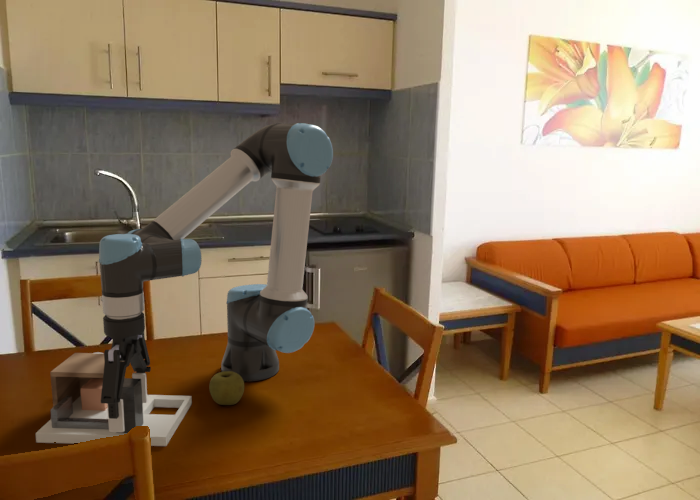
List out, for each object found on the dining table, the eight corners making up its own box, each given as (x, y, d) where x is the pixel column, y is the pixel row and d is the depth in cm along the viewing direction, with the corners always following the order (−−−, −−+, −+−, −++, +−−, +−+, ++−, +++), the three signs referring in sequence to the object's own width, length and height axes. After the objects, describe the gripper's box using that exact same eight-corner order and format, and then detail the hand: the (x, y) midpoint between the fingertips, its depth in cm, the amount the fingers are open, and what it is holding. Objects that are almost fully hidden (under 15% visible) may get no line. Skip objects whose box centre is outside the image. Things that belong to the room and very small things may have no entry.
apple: (214, 395, 134) (214, 367, 132) (247, 396, 133) (247, 368, 132) (205, 410, 126) (204, 380, 125) (240, 411, 126) (240, 382, 125)
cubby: (125, 395, 128) (123, 354, 126) (105, 417, 118) (103, 373, 116) (78, 393, 128) (75, 352, 126) (54, 416, 118) (50, 371, 116)
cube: (114, 399, 125) (113, 379, 125) (105, 410, 121) (103, 389, 120) (92, 399, 125) (91, 378, 125) (82, 409, 121) (80, 388, 120)
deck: (191, 404, 129) (191, 396, 128) (166, 446, 111) (165, 437, 111) (79, 400, 129) (79, 392, 128) (36, 442, 111) (35, 433, 111)
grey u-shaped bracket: (149, 415, 119) (147, 371, 117) (136, 433, 112) (133, 387, 110) (67, 412, 119) (64, 369, 117) (48, 431, 112) (44, 384, 110)
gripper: (128, 296, 121) (133, 389, 125) (74, 333, 97) (83, 447, 102) (163, 297, 121) (166, 390, 125) (117, 335, 97) (124, 448, 102)
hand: (129, 416), depth 113 cm, fingers open, 11 cm apart
